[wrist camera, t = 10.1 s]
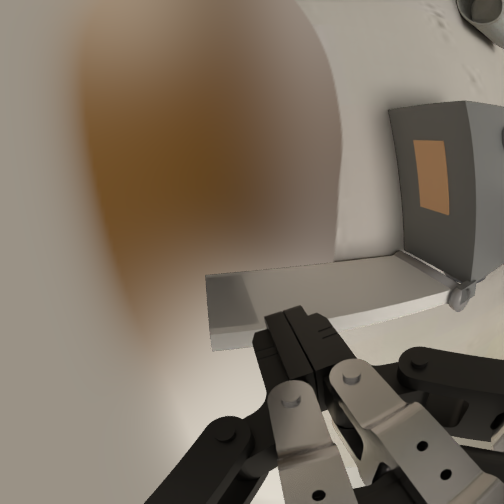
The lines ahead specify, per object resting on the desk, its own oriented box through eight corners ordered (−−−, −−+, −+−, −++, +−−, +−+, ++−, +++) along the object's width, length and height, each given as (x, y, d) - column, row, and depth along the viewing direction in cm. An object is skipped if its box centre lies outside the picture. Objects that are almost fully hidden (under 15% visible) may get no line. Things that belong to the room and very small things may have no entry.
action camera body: (369, 110, 17) (457, 97, 9) (447, 109, 18) (521, 109, 10) (388, 272, 22) (457, 322, 14) (456, 243, 23) (519, 273, 15)
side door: (207, 292, 19) (213, 358, 13) (204, 270, 19) (209, 330, 12) (403, 268, 22) (458, 304, 15) (406, 250, 21) (464, 282, 15)
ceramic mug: (496, 56, 17) (538, 52, 10) (464, 30, 15) (510, 19, 8) (478, -1, 14) (513, -10, 6) (442, -28, 12) (479, -44, 5)
